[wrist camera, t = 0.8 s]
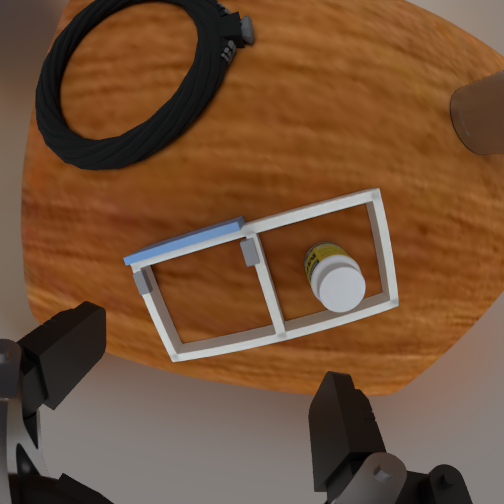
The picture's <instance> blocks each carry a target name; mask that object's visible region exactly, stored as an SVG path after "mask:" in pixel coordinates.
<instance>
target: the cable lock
mask: <svg viewBox="0 0 504 504" xmlns="http://www.w3.org/2000/svg"><path fill="white" fill-rule="evenodd" d="M140 1H144V0H95V1H93V2H92V3H91V4H89V5H88V6H87V7H86V8H84V9H83V10H82V11H81V12H80V13H78V14H77V15H76V16H75V17H74V18H73V20H72V21H71V22H70V23H69V24H68V26H67V27H66V28H65V29H64V30H63V31H62V32H61V34H60V35H59V36H58V37H57V38H56V40H55V42H54V44H53V46H52V48H51V50H50V52H49V53H48V55H47V57H46V59H45V61H44V63H43V66H42V70H41V73H40V77H39V81H38V85H37V88H36V101H35V107H36V120H37V125H38V129H39V131H40V132H41V134H42V136H43V139H44V141H45V144H46V145H47V146H48V147H49V148H50V149H51V150H52V151H53V152H55V153H56V154H57V156H58V157H60V158H61V159H62V160H63V161H64V162H65V163H68V164H73V165H74V166H76V167H78V168H80V169H90V170H99V169H118V168H121V167H123V166H125V165H127V164H130V163H134V162H138V161H141V160H142V159H144V158H146V157H147V156H149V155H151V154H152V153H154V152H156V151H158V150H159V149H161V148H163V147H164V146H165V145H167V144H168V143H169V142H171V141H172V140H173V139H175V138H176V137H177V136H179V135H180V134H181V133H182V132H183V131H184V130H185V129H186V127H187V126H188V125H189V124H190V123H191V121H192V120H193V119H194V118H196V117H197V116H198V115H199V114H200V113H201V112H202V110H203V109H204V108H205V106H206V105H207V104H208V102H209V101H210V100H211V98H212V97H213V95H214V93H215V91H216V90H217V88H218V86H219V84H220V82H221V80H222V79H223V75H224V71H225V68H226V67H227V66H228V65H229V64H230V62H231V60H232V58H233V56H234V54H235V51H236V48H244V41H246V42H248V43H250V44H251V45H252V43H253V41H254V34H253V26H252V20H251V18H250V17H249V16H248V15H246V16H245V17H244V18H243V19H242V20H241V19H240V16H239V12H235V13H232V14H231V12H229V10H228V9H226V8H225V7H224V6H223V5H222V4H221V3H219V2H218V1H217V0H161V1H168V2H172V3H176V4H178V5H180V6H182V7H183V8H184V9H185V10H186V11H187V12H188V14H189V15H190V16H191V17H192V18H193V20H194V22H195V25H196V27H197V34H198V42H197V48H196V53H195V59H194V62H193V65H192V67H191V68H190V70H189V71H188V73H187V75H186V76H185V78H184V80H183V81H182V83H181V85H180V87H179V88H178V90H177V91H176V92H175V94H174V95H173V96H172V98H171V99H170V100H169V101H167V102H166V103H165V104H164V105H163V106H162V107H161V108H160V109H159V110H158V111H157V112H156V113H155V114H154V115H153V116H152V117H151V118H149V119H148V120H147V121H145V122H144V123H142V124H140V125H138V126H136V127H135V128H133V129H131V130H129V131H127V132H126V133H124V134H122V135H121V136H118V137H112V138H107V139H101V140H91V139H85V138H82V137H80V136H79V135H77V134H75V133H74V132H72V131H71V130H69V128H68V127H67V125H66V124H65V122H64V120H63V119H62V117H61V113H60V108H59V104H58V92H59V82H60V78H61V75H62V72H63V70H64V67H65V64H66V62H67V59H68V57H69V55H70V53H71V52H72V50H73V48H74V47H75V46H76V45H77V44H78V42H79V41H80V40H81V38H82V37H83V36H84V34H85V33H86V32H87V31H88V30H89V29H90V28H91V27H92V26H94V25H95V24H97V23H98V22H99V21H100V20H102V19H103V18H104V17H106V16H107V15H108V14H110V13H111V12H113V11H116V10H118V9H120V8H123V7H125V6H128V5H130V4H133V3H136V2H140Z"/></svg>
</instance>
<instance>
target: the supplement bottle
mask: <svg viewBox="0 0 504 504" xmlns="http://www.w3.org/2000/svg"><path fill="white" fill-rule="evenodd" d="M304 268H305V272H306V275H307V277H308V280H309V283H310V285H311V288H312V291H313V293H314V295H315V296H316V297H317V298H318V299H319V300H320V301H321V302H322V304H323V305H324V306H325V307H326V308H327V309H329V310H331V311H334V312H346V311H349V310H351V309H353V308H355V307H356V306H357V305H358V304H359V303H360V302H361V300H362V299H363V296H364V294H365V281H364V278H363V276H362V275H361V271H360V268H359V266H358V264H357V263H356V262H355V261H354V260H353V259H352V258H351V257H350V256H349V255H348V254H347V253H346V252H345V251H344V250H343V249H342V248H341V247H340V246H338V245H337V244H335V243H332V242H321V243H318V244H316V245H314V246H313V247H312V248H311V249H310V250H309V251H308V252H307V254H306V256H305V260H304Z"/></svg>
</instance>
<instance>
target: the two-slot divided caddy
mask: <svg viewBox="0 0 504 504" xmlns="http://www.w3.org/2000/svg"><path fill="white" fill-rule="evenodd" d="M362 203H366V206H367V210H368V215H369V219H370V224H371V229H372V233H373V238H374V244H375V249H376V254H377V260H378V266H379V272H380V278H381V285H382V292H383V293H380V294H377V295H374V296H371V297H367V298H364V299H362V300H361V302H360V303H359V304H358V305H357V306H356V307H355V308H353V309H351V310H349V311H346V312H334V311H331V310H329V309H328V310H325V311H321V312H318V313H314V314H311V315H307V316H303V317H300V318H296V319H292V320H288V321H284V318H283V314H282V311H281V308H280V304H279V301H278V297H277V294H276V291H275V287H274V284H273V281H272V277H271V274H270V271H269V267H268V264H267V260H266V257H265V254H264V250H263V247H262V244H261V241H260V237H259V234H258V233H259V232H262V231H265V230H269V229H272V228H276V227H279V226H283V225H287V224H290V223H294V222H297V221H301V220H304V219H308V218H311V217H315V216H319V215H322V214H326V213H329V212H333V211H337V210H340V209H344V208H348V207H351V206H355V205H359V204H362ZM245 236H246V238H247V239H245V240H242V241H241V242H240V245H241V248H242V251H243V255H244V258H245V261H246V264H247V267H248V266H252V265H255V267H256V270H257V273H258V277H259V280H260V283H261V286H262V289H263V293H264V296H265V299H266V302H267V306H268V309H269V312H270V315H271V318H272V322H273V324H272V325H268V326H264V327H260V328H256V329H252V330H247V331H243V332H238V333H234V334H229V335H225V336H220V337H215V338H210V339H205V340H200V341H195V342H190V343H184V344H182V342H181V340H180V337H179V335H178V333H177V331H176V328H175V326H174V324H173V322H172V319H171V317H170V314H169V312H168V310H167V307H166V305H165V302H164V300H163V297H162V295H161V292H160V290H159V287H158V285H157V282H156V280H155V277H154V274H153V272H152V269H151V266H150V265H151V264H154V263H158V262H161V261H164V260H167V259H171V258H174V257H177V256H181V255H184V254H187V253H191V252H194V251H197V250H201V249H204V248H207V247H211V246H214V245H217V244H221V243H224V242H228V241H231V240H234V239H238V238H241V237H245ZM124 261H125V264H126V265H129V264H130V265H131V267H132V270H133V273H134V274H133V277H134V280H135V282H136V285H137V287H138V290H139V292H140V295H143V298H144V300H145V303H146V305H147V307H148V310H149V312H150V314H151V317H152V319H153V321H154V324H155V326H156V328H157V330H158V332H159V335H160V337H161V339H162V341H163V343H164V345H165V347H166V349H167V351H168V353H169V356H170V358H171V360H172V362H177V361H184V360H190V359H196V358H202V357H208V356H213V355H219V354H224V353H229V352H234V351H239V350H244V349H249V348H253V347H258V346H262V345H267V344H271V343H275V342H279V341H284V340H288V339H292V338H295V337H299V336H303V335H307V334H311V333H314V332H318V331H322V330H325V329H329V328H332V327H335V326H339V325H342V324H345V323H349V322H352V321H355V320H358V319H361V318H365V317H368V316H371V315H374V314H377V313H380V312H383V311H385V310H388V309H391V308H394V307H397V306H399V301H398V291H397V283H396V275H395V268H394V261H393V255H392V248H391V243H390V237H389V232H388V226H387V221H386V216H385V212H384V207H383V203H382V198H381V194H380V190H379V189H377V188H370V189H366V190H362V191H358V192H354V193H351V194H347V195H343V196H339V197H335V198H332V199H328V200H324V201H321V202H317V203H313V204H310V205H306V206H303V207H299V208H295V209H292V210H288V211H285V212H281V213H278V214H274V215H271V216H267V217H264V218H260V219H257V220H254V221H250V222H247V223H245V221H244V218H243V216H240V217H237V218H234V219H230V220H227V221H224V222H220V223H217V224H214V225H211V226H208V227H204V228H201V229H198V230H195V231H192V232H189V233H186V234H182V235H179V236H176V237H173V238H170V239H167V240H164V241H161V242H158V243H155V244H152V245H149V246H146V247H143V248H141V249H140V250H138V251H136V252H134V253H132V254H130V255H128V256H126V257H124Z"/></svg>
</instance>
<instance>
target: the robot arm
mask: <svg viewBox="0 0 504 504" xmlns="http://www.w3.org/2000/svg"><path fill="white" fill-rule="evenodd" d="M450 110H451V117H452V121H453V125H454V127H455V130H456V132H457V134H458V136H459V138H460V139H461V140H462V142H463V143H464V144H465V145H466V146H467V148H468V149H470V150H471V151H472V152H474V153H477V154H480V155H487V154H504V70H502V71H500V72H497V73H495V74H493V75H490V76H488V77H485V78H483V79H481V80H478V81H476V82H473V83H471V84H469V85H466V86H464V87H462V88H460V89H458V90H457V91H455V93H454V94H453V96H452V99H451V106H450ZM105 349H106V311H105V309H104V308H103V307H100V306H98V305H95V304H93V303H90V302H88V301H85V302H83V303H82V304H80V305H79V306H77V307H76V308H74V309H69V310H65V311H62V312H59V313H58V314H56V315H55V316H53V317H52V318H51V319H50V320H47V321H46V322H44V323H43V325H40V326H39V327H37V328H36V329H34V330H33V331H32V332H31V333H29V334H27V335H26V336H25V337H23V338H22V339H20V340H19V341H18V342H15V341H12V340H9V339H0V504H114V503H112V502H111V501H109V500H108V499H107V498H105V497H104V496H103V495H101V494H100V493H99V492H97V491H94V490H93V489H91V488H89V487H87V486H85V485H83V484H81V483H80V482H78V481H76V480H74V479H72V478H71V477H69V476H68V475H66V474H64V473H63V474H62V475H61V477H60V478H59V480H58V479H55V478H51V477H50V476H49V472H48V469H47V466H46V464H45V461H44V457H43V450H42V440H41V425H40V411H39V407H40V406H41V405H42V404H45V405H46V406H48V407H49V408H51V409H52V410H55V408H56V407H57V406H58V405H59V404H60V403H61V402H62V401H63V399H64V398H65V397H66V396H67V395H68V394H69V393H70V392H71V390H72V389H73V388H74V387H75V386H76V385H77V384H78V383H79V382H80V381H81V379H82V378H83V377H84V376H85V375H86V374H87V373H88V372H89V370H91V368H92V367H93V366H94V365H95V364H96V363H97V362H98V361H99V360H100V359H101V358H102V356H103V354H104V352H105ZM308 418H309V429H310V440H311V452H312V463H313V477H314V491H315V492H327V499H326V500H325V501H324V502H323V503H322V504H473V503H472V501H471V498H470V495H469V492H468V490H467V487H466V485H465V482H464V479H463V477H462V475H461V473H460V472H459V471H458V470H457V469H456V468H454V467H452V466H450V465H446V464H442V465H438V466H436V467H435V468H434V469H433V470H432V471H431V472H429V473H428V474H423V473H417V472H411V471H407V470H406V467H405V465H404V464H403V462H402V461H401V460H400V459H398V458H397V457H396V456H394V455H392V454H389V453H387V452H386V449H385V446H384V443H383V440H382V437H381V434H380V431H379V428H378V425H377V422H376V421H375V416H374V413H373V412H372V408H371V405H370V402H369V400H368V398H367V397H366V396H365V395H364V394H363V392H362V391H361V390H359V389H355V387H354V384H353V381H352V378H351V376H350V375H349V374H344V373H338V372H332V371H328V372H327V373H326V375H325V377H324V379H323V381H322V383H321V385H320V387H319V389H318V391H317V393H316V395H315V397H314V399H313V401H312V403H311V405H310V409H309V417H308Z"/></svg>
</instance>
